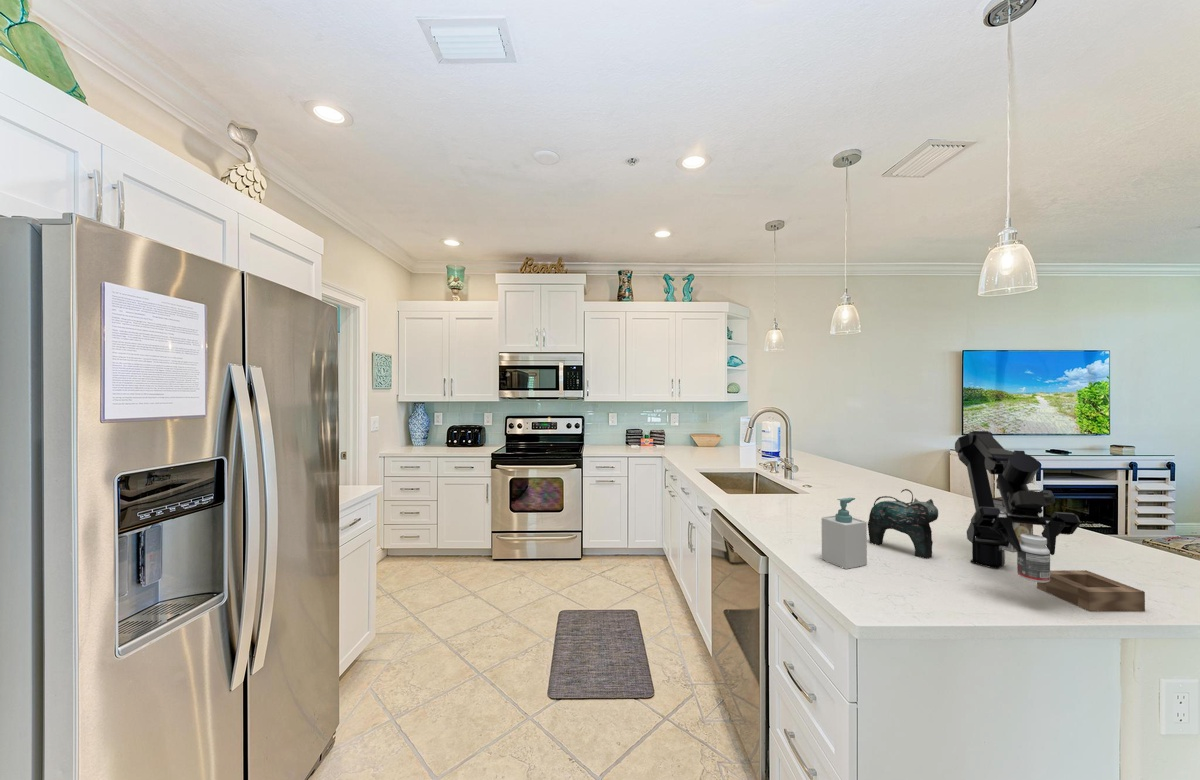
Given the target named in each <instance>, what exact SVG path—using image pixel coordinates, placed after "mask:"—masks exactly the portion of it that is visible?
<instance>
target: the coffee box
mask: <svg viewBox="0 0 1200 780" xmlns="http://www.w3.org/2000/svg"><path fill="white" fill-rule="evenodd" d="M993 501H994V506H995V507H997V508H999V510H1000V512H1006V509H1005V507H1003V506H1002V502H1003V500H1002V497H1001V496H1000V497H993ZM1006 513H1007V512H1006ZM1012 524H1013V529H1014V531H1015V533H1016V536H1017V538H1018V541H1019V543H1021V540H1020V534H1034V525H1033V524H1021V523H1012ZM1002 550H1004V551H1007V550H1008V552H1011V553H1015V552H1016V553H1017V550H1016V549H1015V548H1014V547H1013V546H1012V545H1011V544H1010V543H1009V544H1008V547H1006V546H1002Z"/></svg>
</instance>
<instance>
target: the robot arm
mask: <svg viewBox="0 0 1200 780" xmlns="http://www.w3.org/2000/svg"><path fill="white" fill-rule="evenodd" d="M954 450H955V453H957V457H958V459H959V461H960V462H961V463H962V464H963V465H964V466H965V467H966V469H967V474H968V479H969V484H970V489H971V494H972V498H973V505H974V509H975V511H974V513H973V515H972V516H971V519H970V523H969V525H968V527H967V530H966V539H967V540H968V541H969V542H970V543H971V547H972V551H971V552H972V559H971V560H970V561H969V562H970V563H972V564H976V565H980V566H984V567H989V568H990V569H991V568H993V569H997V570H999V569H1000V568H1001V567H1003V566H1004V565H1005V564H1006V553H1005V552H1006V550H1004V549H1002V546H1006V547H1008V544H1009V543H1010V544H1011V545H1012V546H1013V547H1014V548H1015V549H1016V550H1017V551H1019V552H1020V551H1021V547H1020V543H1019V541H1018V538H1017V536H1016V533H1015V531H1014V529H1013V524H1012V523H1021V524H1033V526H1034V525H1036V526H1042V529H1043V530H1042V532H1041V536H1042V537H1045V538H1046V539H1047V544H1046V547H1047V548H1048V549H1049V550H1050V556H1054V555H1055V554H1056V553H1055V552H1056V544H1057V537H1058V536H1059V535H1073V534H1074V533H1075V532H1076V530H1077V529H1078V528H1079V526H1080V525H1081V524H1082V522H1081V520H1080V517H1079V516H1078V515H1077V514H1075V513H1073V512H1061V511H1054V512H1053V513H1052V515H1050V517H1049V516H1040V515H1039V514H1042V513H1043V512H1044V511H1043V507H1047V506H1052V505H1054V504H1055V503H1056V499H1055V495H1054V494H1053V491H1052V490H1048V489H1041V490H1039V491H1034V490H1033V491H1031V490H1029V486H1028V485H1029V484H1031V483H1032V481H1033V479H1034V478H1035V476H1036V474H1037V473H1038V471H1039V469H1040V467H1041V464H1040V461H1039V460H1037V459H1036V458H1035V457H1034V456H1032V455H1029V454H1026V452H1025V450H1013V451H1012V450H1009V449H1006V448H1004V447H1003V446H1002V445H1001V444H1000V443H999V441H997V440H996V439H995V438H994V435H993V433H992V432H991V431H988V430H973V431H969V432H968V434H965V435H962V436H960V437H958V438H957V439H956V441H955V442H954ZM989 474H990V475H999V476H998V477H997V478H996V481H995V482H996V489H997V490H999V494H1000V497H1002V500H1003V502H1002V506H1003V507H1005V509H1006V512H1007V513H1006V512H1000V510H999V508H997V507H995V506H994V501H993V498H994V497H993V493H992V488H991V483H990V479H989Z"/></svg>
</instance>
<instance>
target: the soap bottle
mask: <svg viewBox="0 0 1200 780" xmlns="http://www.w3.org/2000/svg"><path fill="white" fill-rule="evenodd" d="M855 500H856V498H855V497H847V498H845V497H844V498H837V501H839V502H840V503H839V505H840V509H838V510H837V513H836V514H834V515H830V516H829V515H828V516H823V517H821V560H822V559H824V560H826V561H825V562H827V561H828V563H829V562H830V563H829V564H832V563H833V564H832V565H834V564H835V566H837V565H838V566H837V567H839V566H840V568H842V567H843V568H842V569H844V568H845V569H844V570H848V569H849V568H850V569H855V568H858V567H859V566H860V567H864V566H867V565H868V557H867V556H868V550H867V549H868V545H867V544H868V543H867V542H868V539H867V538H868V534H867V530H868V522H867V521H865V520H862V519H860V518H859V519H858V518H855V517H853V515H852V514H850V511H849V510H848V509H847V507H848V505H847V504H849V503H851V502H853V501H855ZM824 560H823V561H824ZM854 567H855V568H854ZM850 569H849V570H850Z"/></svg>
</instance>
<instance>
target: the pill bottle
mask: <svg viewBox="0 0 1200 780" xmlns="http://www.w3.org/2000/svg"><path fill="white" fill-rule="evenodd" d="M1020 540H1021V543H1020V547H1021V551H1020V552H1019V551H1017V552H1016V555H1017V558H1016V563H1017V564H1016V567H1017V568H1016V569H1017V571H1016V573H1017V576H1019V577H1020V578H1022V579H1024V580H1026V581H1031V582H1034V583H1037V582H1040V583H1046V582H1049V581H1050V571H1051V554H1050V550H1049V549H1048V548H1047V546H1046V544H1047V539H1046V538H1045V537H1043V536H1042V535H1038V534H1034V533H1033V534H1020Z"/></svg>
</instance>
